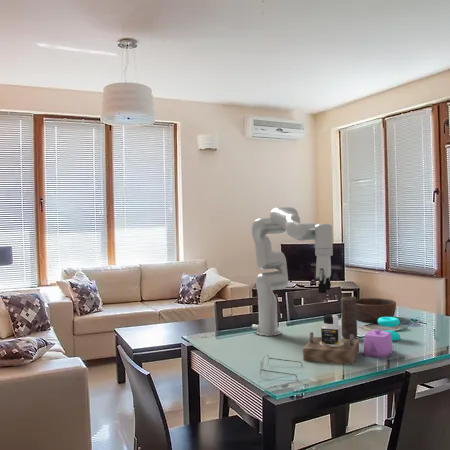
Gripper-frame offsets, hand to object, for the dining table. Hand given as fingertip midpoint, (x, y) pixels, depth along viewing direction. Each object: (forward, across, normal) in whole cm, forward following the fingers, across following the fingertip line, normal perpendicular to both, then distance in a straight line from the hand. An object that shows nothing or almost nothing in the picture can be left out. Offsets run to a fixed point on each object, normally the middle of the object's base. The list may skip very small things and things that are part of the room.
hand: (324, 291), depth 205 cm
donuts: (+27, -30, +24) cm, 47 cm away
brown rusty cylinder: (+27, -27, +6) cm, 38 cm away
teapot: (+27, -3, +22) cm, 34 cm away
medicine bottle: (+21, +5, +4) cm, 22 cm away
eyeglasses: (+27, +33, -11) cm, 44 cm away
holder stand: (+26, +5, +4) cm, 27 cm away
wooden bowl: (+28, -76, +13) cm, 82 cm away
